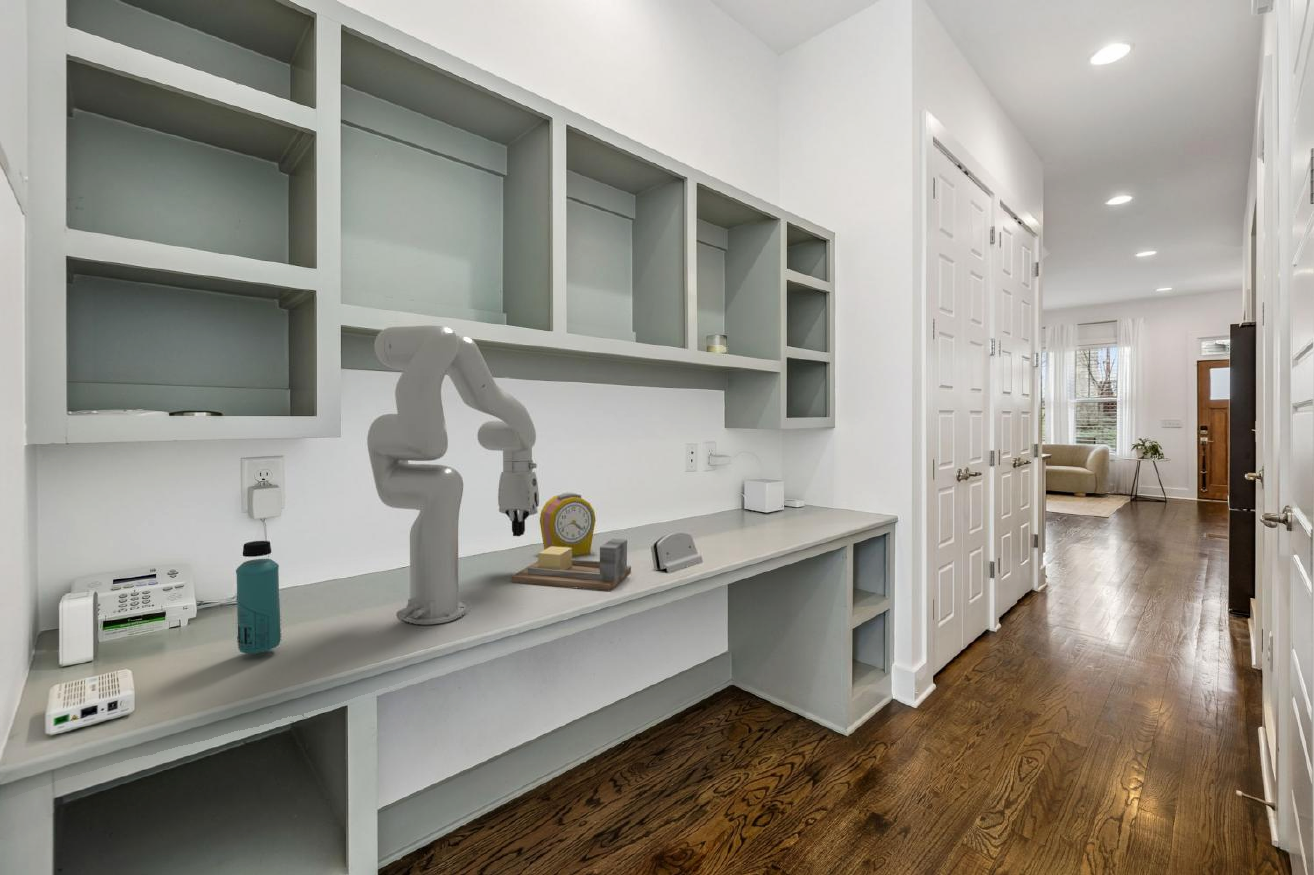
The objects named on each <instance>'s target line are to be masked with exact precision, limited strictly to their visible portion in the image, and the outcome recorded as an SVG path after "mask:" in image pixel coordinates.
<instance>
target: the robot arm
mask: <svg viewBox="0 0 1314 875" xmlns="http://www.w3.org/2000/svg"><path fill="white" fill-rule="evenodd" d="M374 352H375V355H376V357H377V359H378V360H379V361H380V362H381V363H382V364H383V365H384V366H385V367H387V368H390V369H392V370H397V371H402V373H401V374H400V376H399V378H398V380H397V383H396V385H395V386H396V387H395V390H394V397H395V405H396V406H395V407H396V413H388V414H383V415H382V414H381V415H380V416H378V417H377V418H376V419H374V420H373V422H372V423H371V425H369V426H370V427H369V429H368V433H367V436H366V437H367V438H366V439H367V440H366V441H367V442H366V444H367V451H368V457H369V461H370V465H371V470H372V474H373V479H374V484H375V488H376V491H377V495H378V498H379V499H380V500H381V502H382V503H383V505H385V506H387V507H388V508H389V507H390V508H395V509H403V510H416V511H419V512H418V515H417V517H416V518H415V520H414V522H413V524H412V525H411V528H410V531H409V590H410V591H409V598H407V605H406V606H405V607H403V608H402V609H399V610H397V612H396V618H397V619H398V620H399V621H402V620H403V621H404V622H406V623H408V622H409V623H408V624H412V623H413V624H412V625H419V624H420V625H421V626H423V625H424V626H425V625H426V626H428V625H438V624H444V623H448V622H451V621H456V620H457V618H458V619H460V618H461V617H463V616H464V615H465V614H466V613H467V606H466V604H465V603H464V602H461V601H459V518H460V509H461V504H462V503H461V502H462V498H463V494H464V481H463V477H462V475H461V474H460V473H459V472H458V471H457V470H456V469H455V468H453V467H450V466H447V465H443V464H428V463H427V464H426V463H410V462H411V461H413V462H414V461H415V462H417V461H418V462H427V461H428V462H429V461H430V462H431V461H436V460H439V459H441V458H442V457H444V456H445V455H446V453H447V451H448V447H449V445H448V442H449V439H448V431H447V425H446V419H445V413H444V408H443V401H442V400H443V399H442V393H441V392H442V386H443V381H444V378H445V376H446V375H447V376H448V377H449V379H450V380H451V382H452V383H453V386H454V387H455V389H456V391H457V392H458V394H459V396H460V398H461V401H462V402H463V403H464V404H465V405H466V406H468V407H469V408H472V409H473V410H476V411H479V412H480V413H485V414H487V415H490V416H493V417H495V418H497V419H499V420H489V421H486V422H484V423H483V424H482V425H481V426H480V427H479V429H478V431H477V434H476V435H477V441H478V443H479V445H480V446H481V447H482V448H484V449H486V450H489V451H497V452H498V451H500V452H502V471H501V472H500V477H499V481H498V488H497V489H498V490H497V491H498V492H497V503H498V504H497V505H498V506H499V507H498V512H499V513H501V514H504V515H506V516H507V518H509V521H511V532H512V536H513V537H521V536H524V535H525V532H526V520H528V519H527V518H528V517H529V516H534V515H536V514H538V512H539V511H538V507H539V506H540V494H539V493H540V492H539V485H538V484H539V483H538V478H537V472H536V471H533V470H534V469H537V466H538V465H537V464H538V463H535V462H533V461H534V460H533V447H534V445H535V444H536V440H537V434H536V428H535V425H534V423H533V420H532V418H531V416H530V413H529V412H528V410H527V408H526V407H525V405H524V404H523V403H521V402H520V401H519V399H516V398H515V397H514V396H513V395H511V394H510V393H509V392H507V390H504V389H503V388H501V387H499V385H497V383H496V381H495V379H494V377H493V376H492V375H493V374H492V373H491V372H490V368H489V367H488V365H487V363H486V361H485V359H484V357H483V355H482V353H481V351H480V349H479V347H478V345H477V344H476V342H475V341H474V340H473V339H471V337H468V336H465V335H458V334H456V332H455V331H454V330H452V329H451V328H450V327H447V326H443V325H413V326H411V325H410V326H390V327H386V328H384V329H382V330H381V331H380V332H379V333H378V334H377V335H376V337H375V340H374ZM409 461H410V462H409ZM462 615H463V616H462ZM459 617H460V618H459ZM420 625H419V626H420Z"/></svg>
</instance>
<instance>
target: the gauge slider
mask: <svg viewBox="0 0 1314 875" xmlns="http://www.w3.org/2000/svg"><path fill="white" fill-rule="evenodd" d="M537 557H538V558H537V561H538V568H545V569H557V570H567V569H569V568H570V567H572V559H573V556H572V548H570V546H566V547H554V546H551V547H549V548H547V549H545V550H544V549H543V550H542V551H540V552H538V556H537Z"/></svg>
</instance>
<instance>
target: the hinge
mask: <svg viewBox="0 0 1314 875" xmlns="http://www.w3.org/2000/svg"><path fill="white" fill-rule="evenodd" d="M650 551H651V552H650V553H651V556H652V565H653V570H654V571H658V570H664V569H666V573H667V574H671V573H675V572H677V570H678V571H681V570H683V569H682V568H684V569H686V568H688V567H687V566H689V567H692V566H695V565H699V564H701V563H704V560H703V558H702V557H703V556H702V555H701V554H699V552H698V551H697V548H696V545H695V542H694V539H693V536H692V535H691V534H689V533H684V532H675V533H671V534H666V535H664V536H662V537H659V538H658V539H657V540H655V541H654V542H653V543H651V545H650ZM700 562H701V563H700ZM685 567H686V568H685ZM680 569H681V570H680Z"/></svg>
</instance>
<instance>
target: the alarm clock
mask: <svg viewBox="0 0 1314 875" xmlns="http://www.w3.org/2000/svg"><path fill="white" fill-rule="evenodd" d="M595 514H596V513H595V509H594V508H593V506H592V505H591V504H590V502H588V501H587V500H585V498H582V495H581V494H578V493H575V492H564V493H561V494H558V495H555V496H553V497H551V498H550V499H548V500H547V501H546V502H545V504H544V505H543V508H542V509H541V510H540V517H539V525H540V531H541V532H540V533H541V537H542V544H543V550H545V549H547V548H549V547H551V546H554V547H566V546H570V548H572V557H573V556H581V555H586V554H587V555H588V554H591V549H592V544H593V543H592V542H593V537H594V531H595V525H596V521H597V518H596V515H595Z"/></svg>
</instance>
